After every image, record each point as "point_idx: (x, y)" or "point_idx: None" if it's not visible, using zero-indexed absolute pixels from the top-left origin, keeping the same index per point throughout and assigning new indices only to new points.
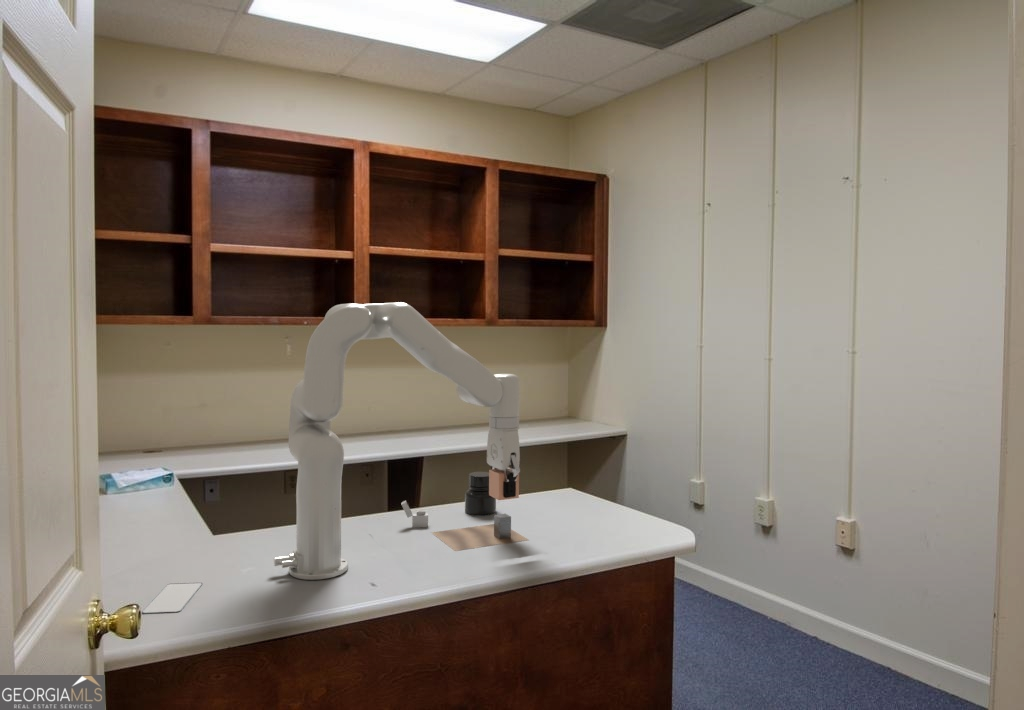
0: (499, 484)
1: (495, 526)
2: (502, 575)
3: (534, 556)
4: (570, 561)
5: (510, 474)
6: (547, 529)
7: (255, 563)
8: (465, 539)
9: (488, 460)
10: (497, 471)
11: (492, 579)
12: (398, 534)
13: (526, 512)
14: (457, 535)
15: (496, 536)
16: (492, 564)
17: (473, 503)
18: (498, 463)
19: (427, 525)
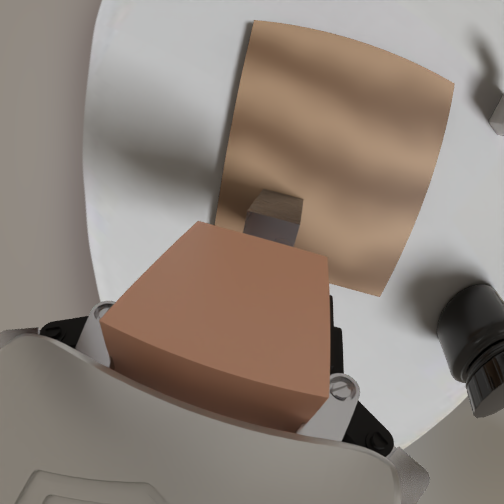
0: (149, 270)
1: (290, 207)
2: (96, 71)
3: (142, 194)
4: (97, 232)
5: (49, 332)
6: None
7: None
8: (333, 103)
9: (343, 491)
10: (196, 383)
11: (93, 47)
12: (501, 56)
13: (394, 384)
14: (385, 114)
15: (284, 195)
16: (149, 77)
17: (485, 311)
18: (48, 401)
19: (498, 122)
